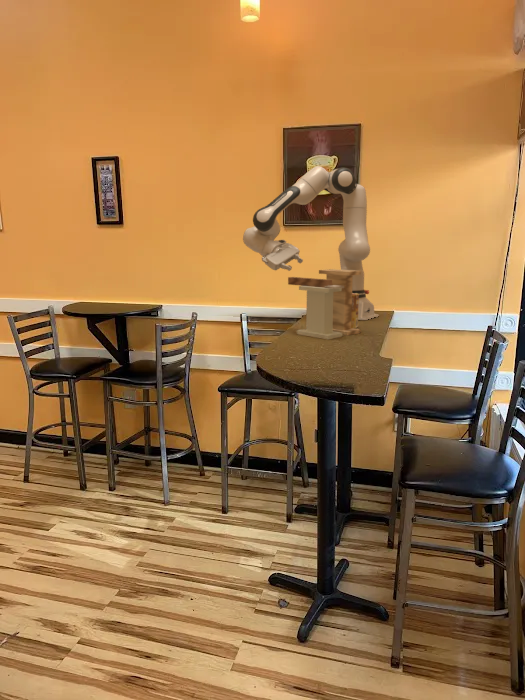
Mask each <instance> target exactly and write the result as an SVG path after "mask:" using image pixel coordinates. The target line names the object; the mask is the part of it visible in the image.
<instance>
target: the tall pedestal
mask: <svg viewBox="0 0 525 700" xmlns="http://www.w3.org/2000/svg"><path fill="white" fill-rule="evenodd" d="M319 274H321V275H326V277H325V279H327V280H332V285H339V286H344V288H342V291H339V292H333V331H334V332H340V333H342V336H351V335H356V334H361V331H362V330H361V328H351V316H352V282H353V275H361V271H354V270H341V269H335V268H334V269H333V268H332V269H331V268H330V269H319V270H318V275H319Z"/></svg>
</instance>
